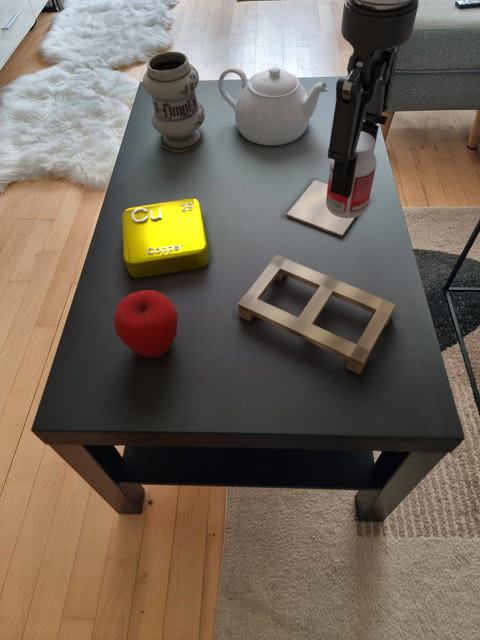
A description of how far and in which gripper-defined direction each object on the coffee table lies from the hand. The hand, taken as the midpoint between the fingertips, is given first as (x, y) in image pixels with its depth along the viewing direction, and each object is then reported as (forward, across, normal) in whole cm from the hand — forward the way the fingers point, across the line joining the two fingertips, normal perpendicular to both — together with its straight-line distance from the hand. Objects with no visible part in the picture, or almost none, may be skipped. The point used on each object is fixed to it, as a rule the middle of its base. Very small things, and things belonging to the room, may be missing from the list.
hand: (350, 179), depth 68 cm
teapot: (+22, -35, -33) cm, 52 cm away
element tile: (+22, +8, -31) cm, 39 cm away
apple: (+22, +27, -19) cm, 40 cm away
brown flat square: (+21, -16, -9) cm, 28 cm away
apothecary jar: (+22, -21, -49) cm, 57 cm away
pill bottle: (+5, 0, 0) cm, 5 cm away
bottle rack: (+21, +10, +1) cm, 23 cm away
